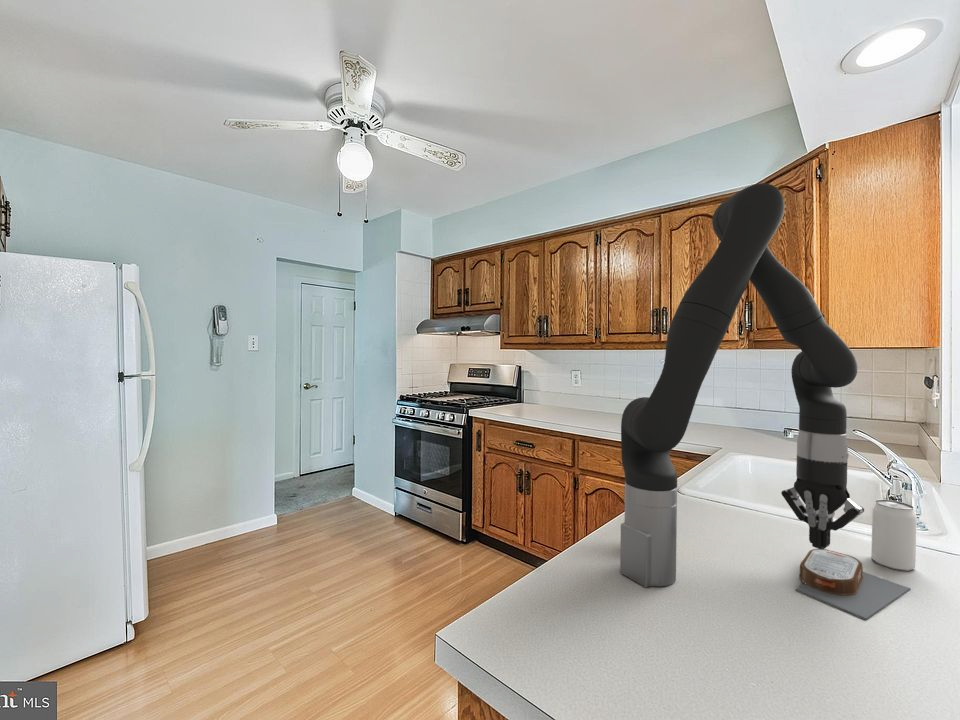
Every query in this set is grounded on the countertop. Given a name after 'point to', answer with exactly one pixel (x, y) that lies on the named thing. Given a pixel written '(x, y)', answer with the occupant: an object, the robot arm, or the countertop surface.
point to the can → (894, 535)
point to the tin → (831, 572)
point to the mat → (861, 596)
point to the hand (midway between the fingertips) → (819, 547)
